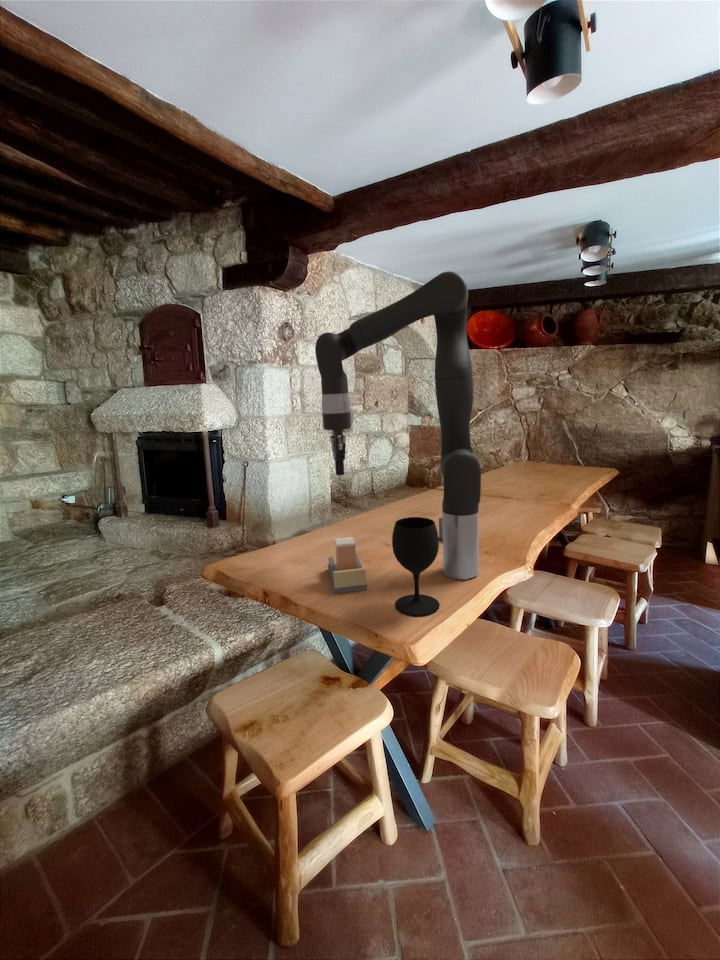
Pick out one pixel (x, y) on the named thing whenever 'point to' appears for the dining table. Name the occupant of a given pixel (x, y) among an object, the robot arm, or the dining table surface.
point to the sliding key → (345, 553)
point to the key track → (347, 578)
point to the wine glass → (416, 560)
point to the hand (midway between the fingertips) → (340, 474)
